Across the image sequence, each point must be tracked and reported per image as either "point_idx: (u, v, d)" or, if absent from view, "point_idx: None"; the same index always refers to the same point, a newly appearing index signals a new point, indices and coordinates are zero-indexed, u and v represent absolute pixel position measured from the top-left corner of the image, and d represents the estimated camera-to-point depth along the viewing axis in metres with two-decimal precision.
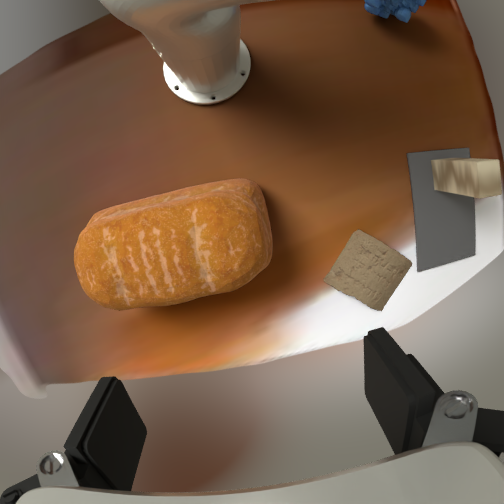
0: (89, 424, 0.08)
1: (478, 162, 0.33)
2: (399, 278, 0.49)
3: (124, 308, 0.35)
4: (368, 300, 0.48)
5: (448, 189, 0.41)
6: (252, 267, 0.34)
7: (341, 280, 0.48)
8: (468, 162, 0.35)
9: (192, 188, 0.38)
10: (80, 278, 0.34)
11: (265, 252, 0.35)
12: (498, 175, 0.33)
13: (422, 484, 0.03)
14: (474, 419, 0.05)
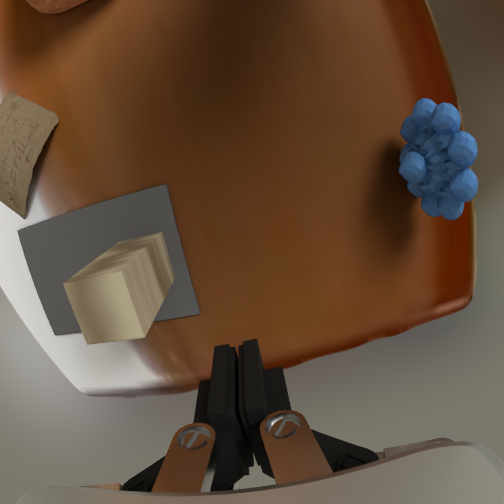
0: (226, 389, 0.09)
1: (121, 276, 0.20)
2: (7, 199, 0.29)
3: None
4: None
5: (107, 252, 0.27)
6: None
7: (5, 110, 0.25)
8: (128, 262, 0.21)
9: None
10: None
11: None
12: (115, 334, 0.21)
13: (422, 484, 0.03)
14: (308, 429, 0.07)
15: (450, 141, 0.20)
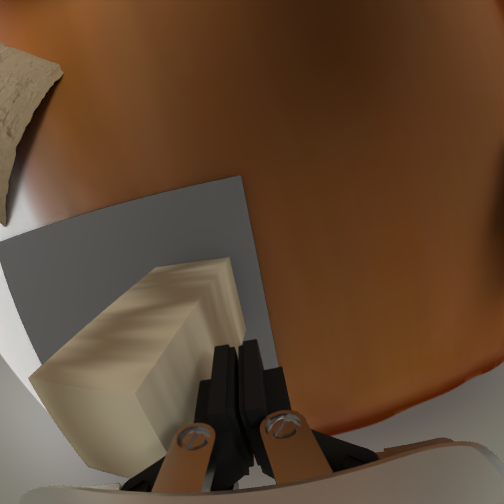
0: (226, 389, 0.09)
1: (136, 402, 0.08)
2: None
3: None
4: None
5: (130, 293, 0.16)
6: None
7: None
8: (156, 355, 0.09)
9: None
10: None
11: None
12: (133, 472, 0.09)
13: (422, 484, 0.03)
14: (308, 429, 0.07)
15: None
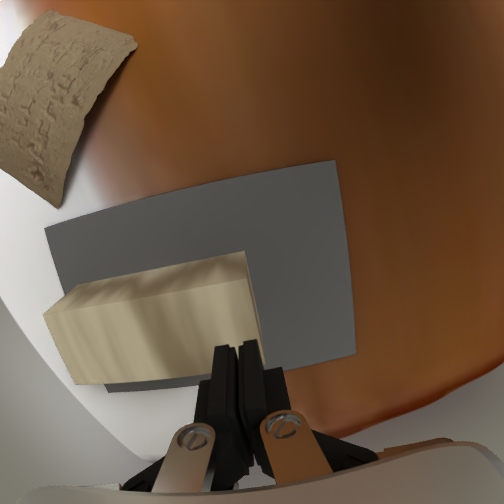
0: (226, 389, 0.09)
1: (46, 319, 0.15)
2: (28, 175, 0.17)
3: None
4: None
5: (177, 266, 0.19)
6: None
7: (38, 32, 0.14)
8: (67, 309, 0.15)
9: None
10: None
11: None
12: None
13: (422, 484, 0.03)
14: (308, 429, 0.07)
15: None
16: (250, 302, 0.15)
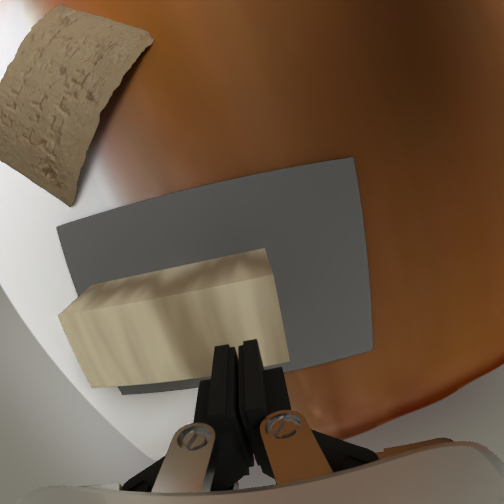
0: (226, 389, 0.09)
1: None
2: (39, 172, 0.17)
3: None
4: (1, 97, 0.15)
5: (197, 264, 0.19)
6: None
7: (49, 27, 0.14)
8: (85, 310, 0.15)
9: None
10: None
11: None
12: None
13: (422, 484, 0.03)
14: (308, 429, 0.07)
15: None
16: (276, 299, 0.15)
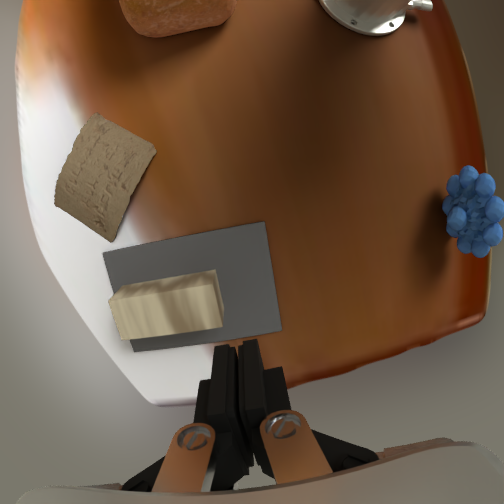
0: (226, 389, 0.09)
1: (109, 303, 0.33)
2: (92, 222, 0.35)
3: None
4: (65, 175, 0.32)
5: (180, 276, 0.37)
6: None
7: (92, 132, 0.32)
8: (123, 298, 0.32)
9: None
10: None
11: None
12: None
13: (422, 484, 0.03)
14: (308, 429, 0.07)
15: (487, 204, 0.27)
16: (214, 295, 0.33)
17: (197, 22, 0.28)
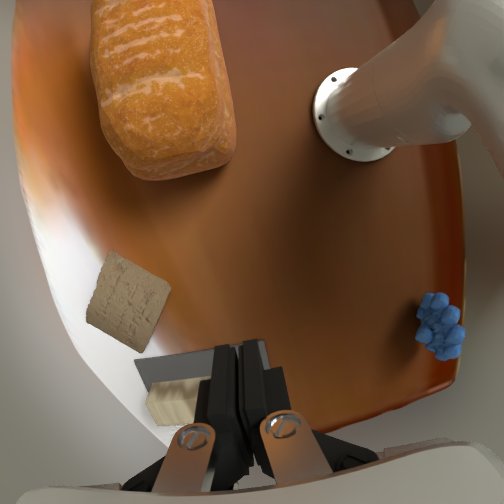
0: (226, 389, 0.09)
1: (146, 404, 0.41)
2: (123, 339, 0.43)
3: (92, 9, 0.21)
4: (93, 306, 0.40)
5: (199, 379, 0.45)
6: (127, 149, 0.24)
7: (112, 271, 0.40)
8: (157, 401, 0.41)
9: (227, 82, 0.29)
10: None
11: (146, 164, 0.26)
12: None
13: (422, 484, 0.03)
14: (308, 429, 0.07)
15: (449, 332, 0.34)
16: None
17: None
